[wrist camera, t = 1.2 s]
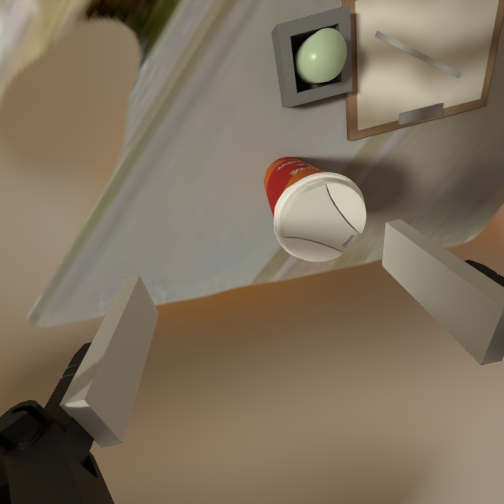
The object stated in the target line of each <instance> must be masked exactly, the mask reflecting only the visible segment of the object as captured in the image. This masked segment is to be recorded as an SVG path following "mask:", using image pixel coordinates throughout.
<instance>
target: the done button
mask: <svg viewBox="0 0 504 504" xmlns="http://www.w3.org/2000/svg"><path fill="white" fill-rule="evenodd" d="M346 57H347V46H346V42H345V40H344V38H343V36H342V35H341V34H340V33H339V32H338V31H337V30H335V29H332V28H325V29H322V30H320V31H318V32H316V33H315V34H314V35H312V36H311V37H309V38H308V39H307V40H305V41H304V42H303V43H302V44H301V45H300V47H299V48H298V50H297V52H296V55H295V70H296V73H297V75H298V77H299V78H300V79H301V80H302V81H303V82H305V83H307V84H316V83H321V82H326V81H330V80H332V79H333V78H335V77H336V76H337V75H338V74H339V73H340V72H341V70H342V69H343V67H344V64H345V61H346Z"/></svg>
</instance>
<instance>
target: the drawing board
mask: <svg viewBox="0 0 504 504" xmlns="http://www.w3.org/2000/svg"><path fill="white" fill-rule="evenodd" d="M348 5H350V25H351V60H352V91H349V92H346V118H347V140H349V141H352V140H356V139H360V138H363V137H367V136H371V135H375V134H379V133H383V132H387V131H390V130H394V129H398V128H402V127H406V126H410V125H414V124H418V123H421V122H425V121H429V120H433V119H437V118H441V117H445V116H448V115H452V114H456V113H460V112H464V111H468V110H472V109H475V108H479V107H483V106H486V101H487V96H488V91H489V86H490V81H491V76H492V71H493V66H494V60H495V55H496V50H497V45H498V40H499V35H500V30H501V25H502V20H503V15H504V0H342V7H345V6H348Z"/></svg>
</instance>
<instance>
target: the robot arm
mask: <svg viewBox="0 0 504 504" xmlns="http://www.w3.org/2000/svg"><path fill="white" fill-rule="evenodd" d="M382 265H383V267H384V268H385V269H386V270H387V271H388V272H389V273H390V274H391V275H392V276H393V277H394V278H395V279H396V280H397V281H398V282H399V283H400V284H401V285H402V286H403V287H404V288H405V289H406V290H407V291H408V292H409V293H410V294H411V295H412V296H413V297H414V298H415V299H416V300H417V301H418V302H419V303H420V304H421V305H422V306H423V307H424V308H425V309H426V310H427V311H428V312H429V313H430V314H431V315H432V316H433V317H434V318H435V319H436V320H437V321H438V322H439V323H440V324H441V325H442V327H444V329H445V330H447V332H448V333H449V334H450V335H451V336H452V337H453V338H454V339H455V340H456V341H457V342H458V343H459V344H460V345H461V346H462V347H463V348H464V349H465V350H466V351H467V352H468V353H469V354H470V355H471V356H472V357H473V358H474V359H475V360H476V361H477V362H478V363H479V364H480V365H484V364H489V363H493V362H498V361H502V358H503V357H504V277H502V276H501V275H499V274H498V275H497V273H496V272H495V271H493V270H491V269H490V268H488V267H486V266H485V265H482V264H480V263H477V262H474V261H471V260H466V261H463V260H461V259H460V258H458V257H457V256H455V255H454V254H452V253H451V252H449V251H448V250H446V249H445V248H443V247H442V246H440V245H439V244H437V243H436V242H434V241H433V240H431V239H429V238H428V237H426V236H425V235H423V234H422V233H420V232H419V231H417V230H416V229H414V228H413V227H411V226H410V225H408V224H407V223H405V222H404V221H402V220H401V219H399V220H394V221H390V222H386V226H385V239H384V251H383V264H382ZM158 315H159V314H158V312H157V310H156V307H155V305H154V303H153V301H152V299H151V297H150V295H149V293H148V291H147V289H146V287H145V285H144V283H143V281H142V279H141V277H140V276H135V277H131V278H126V279H125V280H124V282H123V284H122V286H121V288H120V290H119V292H118V294H117V295H116V297H115V299H114V301H113V303H112V305H111V307H110V309H109V311H108V313H107V315H106V317H105V319H104V320H103V322H102V324H101V326H100V328H99V330H98V332H97V334H96V336H95V338H94V340H93V342H92V343H87V344H84V345H83V346H82V347H81V348H80V349H79V351H78V352H77V353H76V354H75V355H74V356H73V358H72V360H71V362H70V363H69V365H68V369H66V371H65V372H64V374H63V378H62V379H60V381H59V383H58V385H57V386H56V388H55V390H54V392H53V394H52V395H51V397H50V399H49V401H48V403H47V404H46V406H45V408H43V407H42V406H41V405H39V404H38V403H37V402H36V401H33V400H28V401H25V402H21V403H19V404H17V405H16V406H14V407H12V408H10V409H9V410H8V411H7V412H6V413H4V414H3V415H2V416H1V417H0V504H114V502H113V500H112V497H111V495H110V493H109V491H108V488H107V486H106V484H105V481H104V479H103V476H102V474H101V472H100V470H99V467H98V465H97V463H96V460H95V458H94V456H93V455H92V454H91V453H90V452H89V451H90V449H91V446H92V443H93V440H95V441H96V442H97V443H98V444H99V445H100V446H101V447H107V446H111V445H116V444H120V443H123V440H124V436H125V433H126V429H127V426H128V422H129V418H130V415H131V411H132V408H133V404H134V400H135V397H136V393H137V390H138V386H139V382H140V379H141V375H142V372H143V368H144V365H145V361H146V358H147V354H148V350H149V347H150V343H151V340H152V336H153V333H154V329H155V325H156V321H157V318H158Z"/></svg>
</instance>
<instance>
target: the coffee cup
mask: <svg viewBox="0 0 504 504" xmlns="http://www.w3.org/2000/svg"><path fill="white" fill-rule="evenodd" d="M264 184H265V190H266V194H267V197H268V200H269V204H270V207H271V210H272V213H273V217H274V231H275V235H276V238H277V240H278V242H279V243H280V245H281V246H282V247H283V248H284V249H285V250H286V251H287V252H288V253H290V254H291V255H294V256H296V257H298V258H301V259H303V260H306V261H312V262H322V261H328V260H331V259H334V258H337V257H339V256H340V255H342V254H343V252H344V251H345V249H348V248H349V247H350V246H351V245H352V244H353V243H354V242H355V241H356V240H357V239H356V237H357V236H358V235H359V233H361V234H362V232H363V229H364V226H365V222H366V208H365V202H364V198H363V195H362V193H361V191H360V189H359V188H358V186H357V185H356V184H355V183H354V182H353V181H352V180H350V179H349V178H347V177H345V176H343V175H340V174H337V173H332V172H325V171H323V170H321V169H319V168H317V167H314V166H312V165H310V164H308V163H306V162H303V161H301V160H299V159H296V158H292V157H285V158H281V159H278V160H277V161H275V162H274V163H273V164H271V166H270V167H269V168H268V170H267V172H266V174H265V179H264Z"/></svg>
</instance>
